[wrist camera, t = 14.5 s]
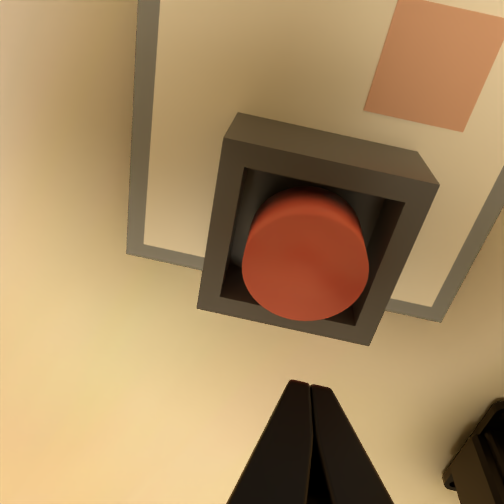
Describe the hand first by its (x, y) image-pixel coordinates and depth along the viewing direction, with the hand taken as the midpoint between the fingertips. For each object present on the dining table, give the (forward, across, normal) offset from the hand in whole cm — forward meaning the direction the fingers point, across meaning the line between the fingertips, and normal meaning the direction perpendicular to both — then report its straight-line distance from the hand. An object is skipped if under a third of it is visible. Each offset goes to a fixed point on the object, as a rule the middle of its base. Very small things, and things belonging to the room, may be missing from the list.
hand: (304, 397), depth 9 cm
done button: (+7, 0, 0) cm, 7 cm away
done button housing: (+8, 0, 0) cm, 9 cm away
